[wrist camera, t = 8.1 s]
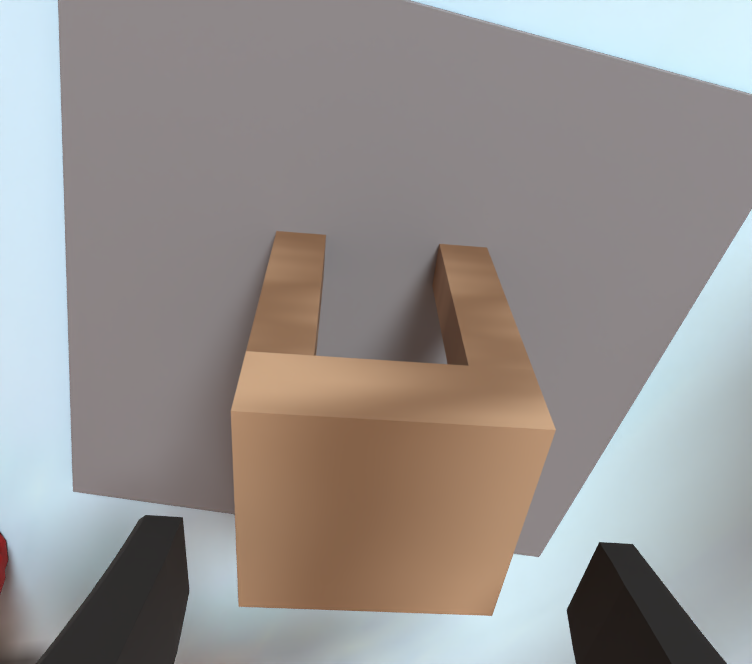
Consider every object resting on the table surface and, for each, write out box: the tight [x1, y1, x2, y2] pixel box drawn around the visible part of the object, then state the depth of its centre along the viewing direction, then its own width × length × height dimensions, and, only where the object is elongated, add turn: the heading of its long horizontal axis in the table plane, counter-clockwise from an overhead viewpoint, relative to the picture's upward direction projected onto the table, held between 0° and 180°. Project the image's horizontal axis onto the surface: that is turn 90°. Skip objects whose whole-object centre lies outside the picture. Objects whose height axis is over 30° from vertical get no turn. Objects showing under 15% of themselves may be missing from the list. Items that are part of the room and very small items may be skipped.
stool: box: [231, 231, 556, 616], centre depth 14 cm, size 5×5×7 cm
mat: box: [58, 0, 752, 557], centre depth 17 cm, size 16×16×1 cm
